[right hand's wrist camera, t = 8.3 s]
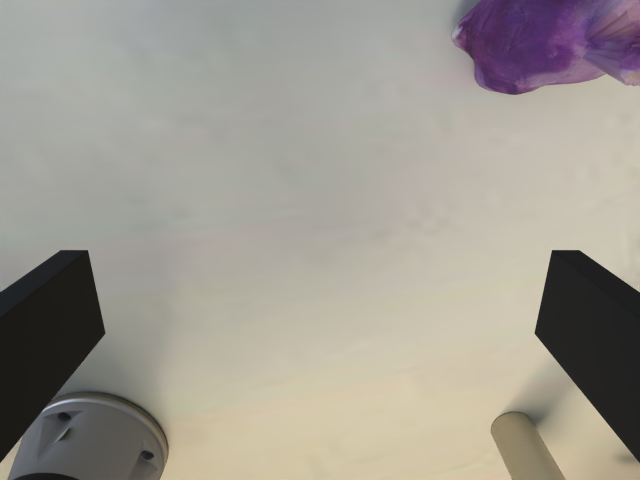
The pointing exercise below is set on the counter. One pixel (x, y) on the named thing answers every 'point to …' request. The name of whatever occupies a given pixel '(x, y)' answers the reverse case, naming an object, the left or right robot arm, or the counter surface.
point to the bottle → (523, 449)
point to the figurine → (550, 42)
